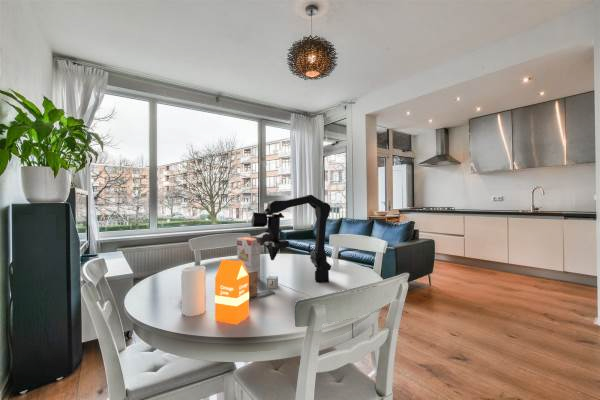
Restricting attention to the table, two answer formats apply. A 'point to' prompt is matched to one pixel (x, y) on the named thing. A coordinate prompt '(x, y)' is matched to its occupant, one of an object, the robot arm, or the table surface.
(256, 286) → the brown wooden block
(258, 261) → the cracker box
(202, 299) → the cup
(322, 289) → the table surface
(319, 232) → the robot arm
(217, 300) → the orange juice
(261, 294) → the rail
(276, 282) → the letter cube
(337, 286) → the table surface
